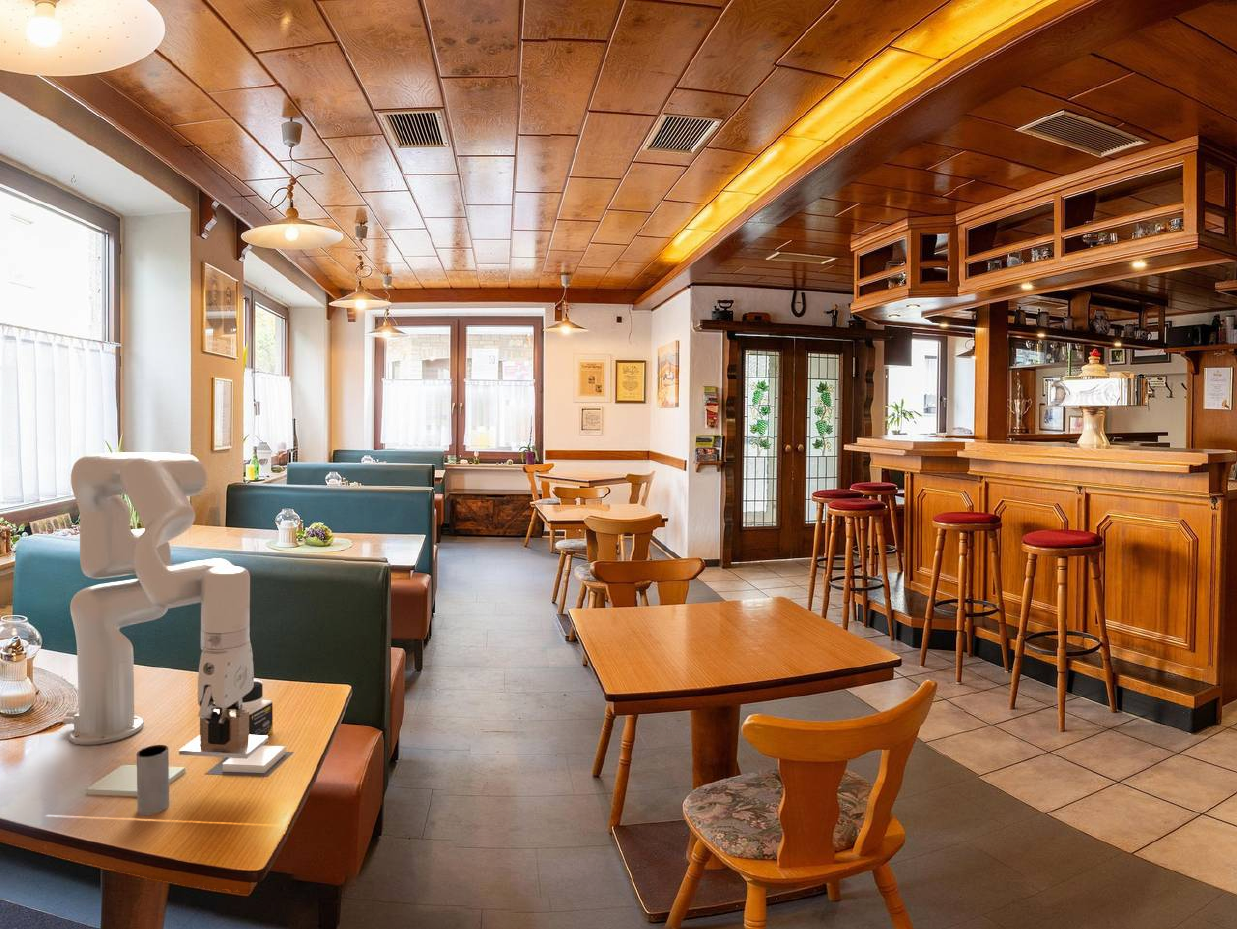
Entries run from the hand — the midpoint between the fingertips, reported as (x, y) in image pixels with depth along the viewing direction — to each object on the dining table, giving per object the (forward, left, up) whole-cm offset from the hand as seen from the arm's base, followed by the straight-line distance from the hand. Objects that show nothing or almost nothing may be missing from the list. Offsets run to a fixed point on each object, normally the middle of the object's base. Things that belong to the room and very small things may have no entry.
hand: (224, 737), depth 127 cm
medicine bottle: (-8, +22, -10) cm, 25 cm away
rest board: (-17, +2, -10) cm, 20 cm away
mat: (-1, +11, -10) cm, 15 cm away
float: (0, 0, -2) cm, 2 cm away
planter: (-9, -6, -10) cm, 15 cm away
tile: (-4, +11, -9) cm, 15 cm away
